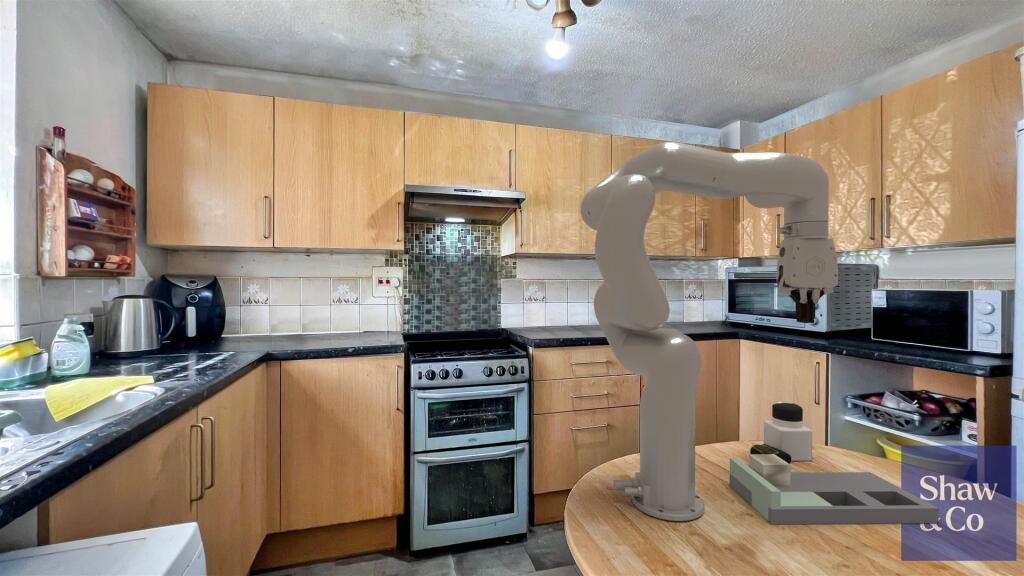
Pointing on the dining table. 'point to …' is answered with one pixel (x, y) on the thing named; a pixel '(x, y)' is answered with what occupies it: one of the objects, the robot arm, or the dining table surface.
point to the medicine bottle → (789, 431)
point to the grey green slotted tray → (830, 498)
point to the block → (771, 468)
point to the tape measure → (770, 452)
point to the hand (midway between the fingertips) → (805, 322)
